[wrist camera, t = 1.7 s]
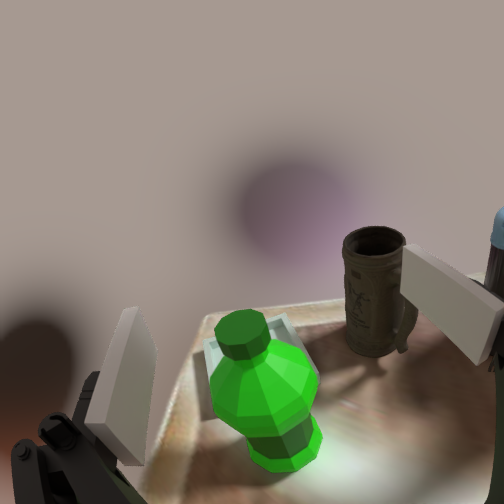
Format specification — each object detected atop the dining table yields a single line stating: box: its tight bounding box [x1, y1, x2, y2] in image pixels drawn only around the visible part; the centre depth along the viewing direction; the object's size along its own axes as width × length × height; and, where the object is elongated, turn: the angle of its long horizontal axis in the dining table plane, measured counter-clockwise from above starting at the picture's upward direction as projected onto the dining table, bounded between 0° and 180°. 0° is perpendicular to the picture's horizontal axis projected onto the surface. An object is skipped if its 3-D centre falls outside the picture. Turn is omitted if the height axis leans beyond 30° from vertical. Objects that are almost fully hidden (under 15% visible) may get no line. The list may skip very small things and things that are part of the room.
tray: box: [203, 313, 321, 385], centre depth 49 cm, size 17×17×3 cm
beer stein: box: [342, 226, 418, 357], centre depth 42 cm, size 15×11×20 cm
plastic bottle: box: [209, 309, 323, 473], centre depth 28 cm, size 10×10×25 cm
